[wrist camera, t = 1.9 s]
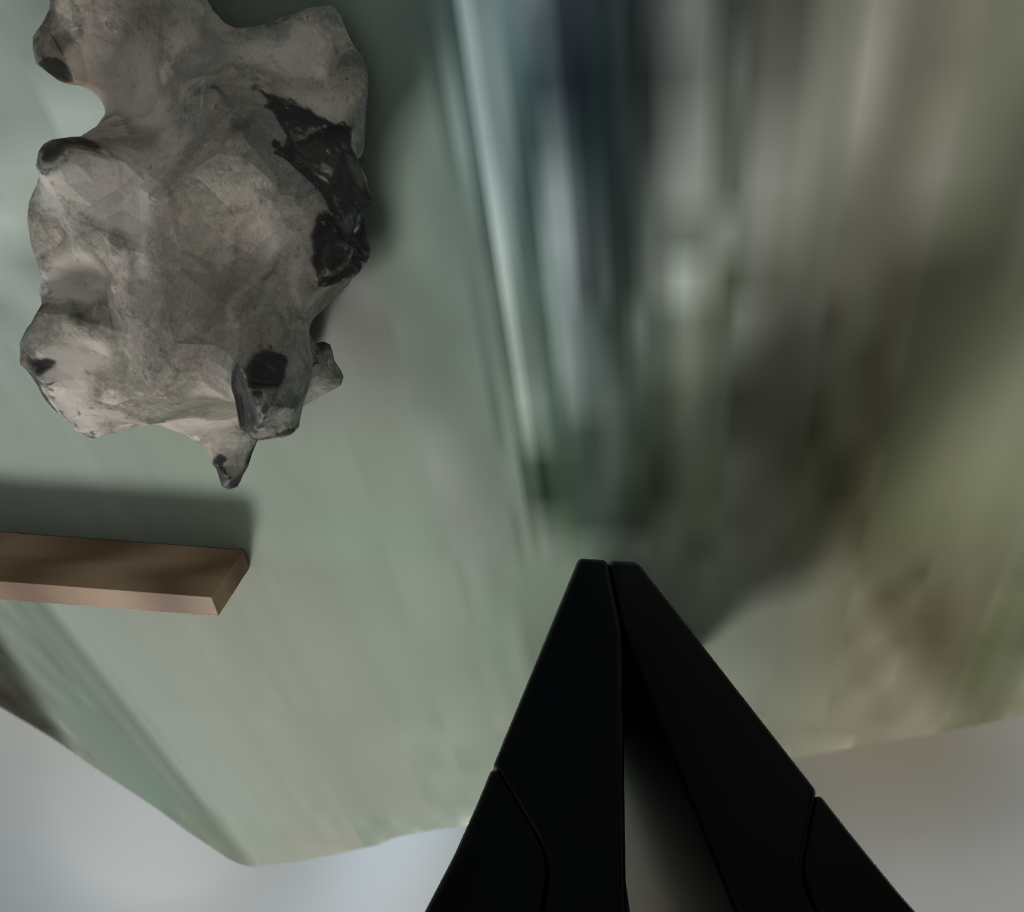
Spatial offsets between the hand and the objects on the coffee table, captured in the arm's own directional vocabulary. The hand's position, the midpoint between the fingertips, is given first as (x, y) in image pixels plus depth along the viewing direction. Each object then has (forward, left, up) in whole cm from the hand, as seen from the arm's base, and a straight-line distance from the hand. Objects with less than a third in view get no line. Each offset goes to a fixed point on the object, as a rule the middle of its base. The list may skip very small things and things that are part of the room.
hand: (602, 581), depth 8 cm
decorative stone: (+10, -1, -13) cm, 17 cm away
